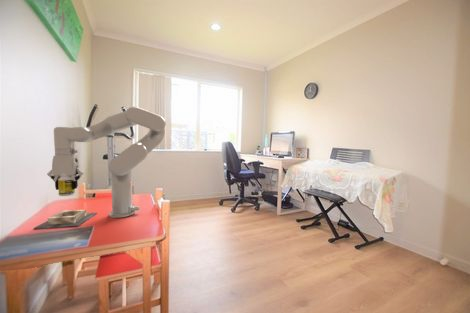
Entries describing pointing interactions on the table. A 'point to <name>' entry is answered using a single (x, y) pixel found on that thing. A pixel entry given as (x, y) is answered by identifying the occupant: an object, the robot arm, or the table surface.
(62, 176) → the pill bottle
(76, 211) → the grey square base
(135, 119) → the robot arm
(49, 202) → the table surface
